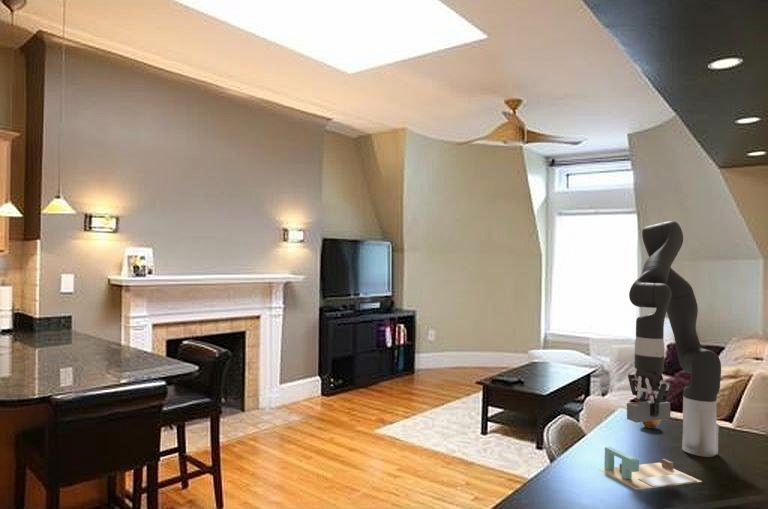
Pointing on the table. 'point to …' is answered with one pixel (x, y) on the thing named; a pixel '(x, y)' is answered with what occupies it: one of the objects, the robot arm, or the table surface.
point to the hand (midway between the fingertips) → (648, 414)
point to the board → (652, 475)
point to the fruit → (651, 423)
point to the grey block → (646, 411)
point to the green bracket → (628, 462)
